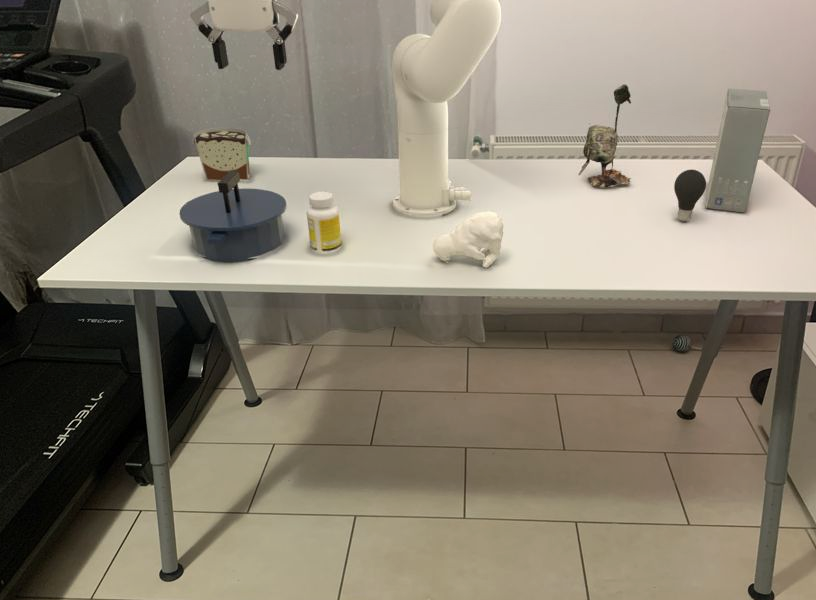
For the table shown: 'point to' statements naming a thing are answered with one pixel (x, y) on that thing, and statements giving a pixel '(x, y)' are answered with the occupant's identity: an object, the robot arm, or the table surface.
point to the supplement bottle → (323, 223)
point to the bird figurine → (605, 147)
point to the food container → (223, 152)
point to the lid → (232, 207)
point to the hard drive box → (737, 149)
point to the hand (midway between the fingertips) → (251, 67)
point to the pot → (238, 242)
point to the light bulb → (688, 192)
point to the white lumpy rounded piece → (473, 239)
